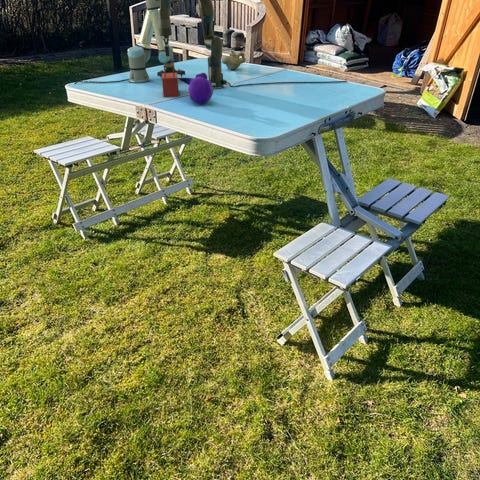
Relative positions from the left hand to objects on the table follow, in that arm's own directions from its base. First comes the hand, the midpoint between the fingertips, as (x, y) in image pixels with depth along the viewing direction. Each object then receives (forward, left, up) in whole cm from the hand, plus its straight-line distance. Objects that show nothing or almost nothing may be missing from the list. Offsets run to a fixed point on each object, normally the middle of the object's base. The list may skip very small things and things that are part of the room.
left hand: (171, 75), depth 320 cm
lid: (-6, -27, +4) cm, 28 cm away
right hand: (-7, -33, +18) cm, 38 cm away
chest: (-6, -27, -7) cm, 28 cm away
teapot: (+59, +44, -7) cm, 74 cm away
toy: (+6, -55, -7) cm, 56 cm away
